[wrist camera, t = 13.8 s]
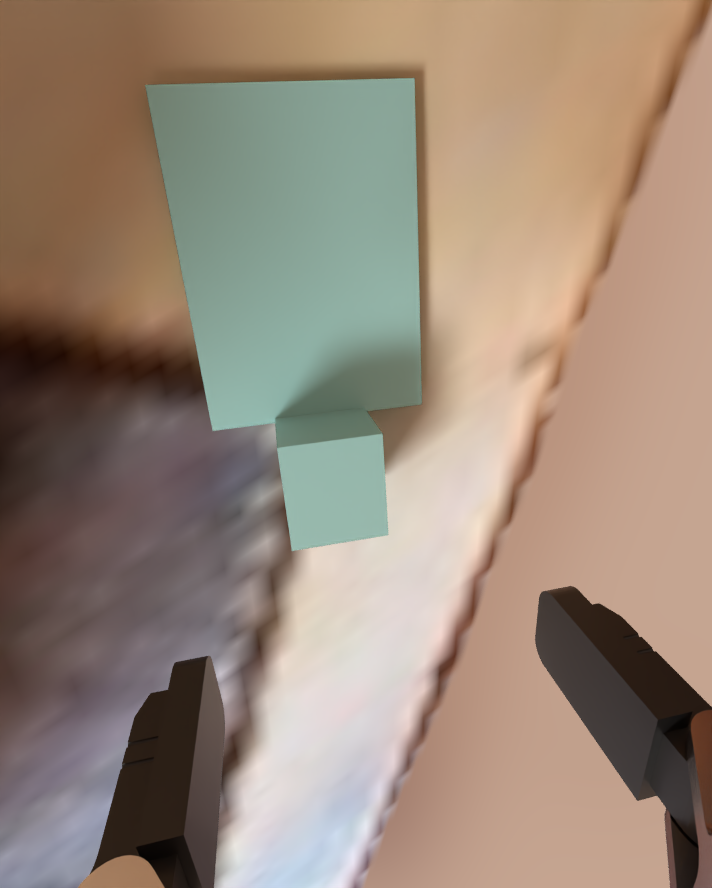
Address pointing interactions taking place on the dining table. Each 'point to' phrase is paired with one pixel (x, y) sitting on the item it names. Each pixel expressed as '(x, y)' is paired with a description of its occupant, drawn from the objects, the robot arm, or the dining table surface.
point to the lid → (301, 275)
